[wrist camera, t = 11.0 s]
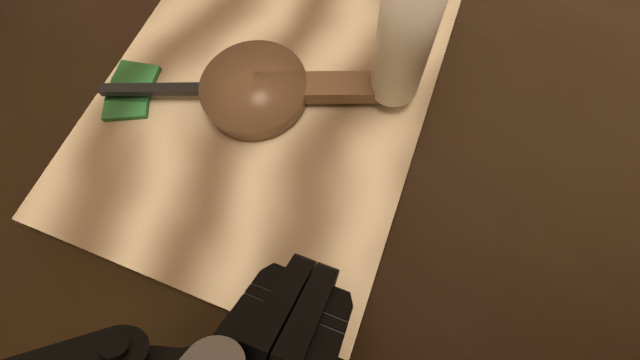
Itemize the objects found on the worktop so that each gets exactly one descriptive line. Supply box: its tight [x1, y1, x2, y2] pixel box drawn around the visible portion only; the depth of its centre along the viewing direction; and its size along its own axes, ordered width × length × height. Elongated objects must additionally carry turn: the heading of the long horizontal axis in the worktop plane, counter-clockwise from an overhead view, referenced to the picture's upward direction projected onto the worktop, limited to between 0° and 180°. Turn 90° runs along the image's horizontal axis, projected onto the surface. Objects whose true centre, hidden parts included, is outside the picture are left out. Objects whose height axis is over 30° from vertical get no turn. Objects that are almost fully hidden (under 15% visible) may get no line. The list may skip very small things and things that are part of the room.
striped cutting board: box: [12, 0, 461, 360], centre depth 24 cm, size 22×26×2 cm
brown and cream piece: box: [97, 0, 448, 141], centre depth 18 cm, size 21×7×11 cm, turn 88°
